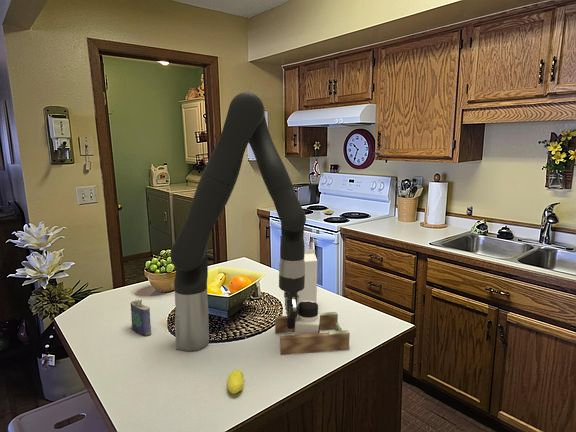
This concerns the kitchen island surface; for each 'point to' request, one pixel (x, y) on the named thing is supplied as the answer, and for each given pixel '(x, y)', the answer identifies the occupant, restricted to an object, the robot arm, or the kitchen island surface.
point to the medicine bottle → (307, 318)
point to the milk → (309, 278)
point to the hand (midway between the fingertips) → (290, 327)
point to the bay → (313, 336)
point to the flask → (140, 318)
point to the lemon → (235, 381)
